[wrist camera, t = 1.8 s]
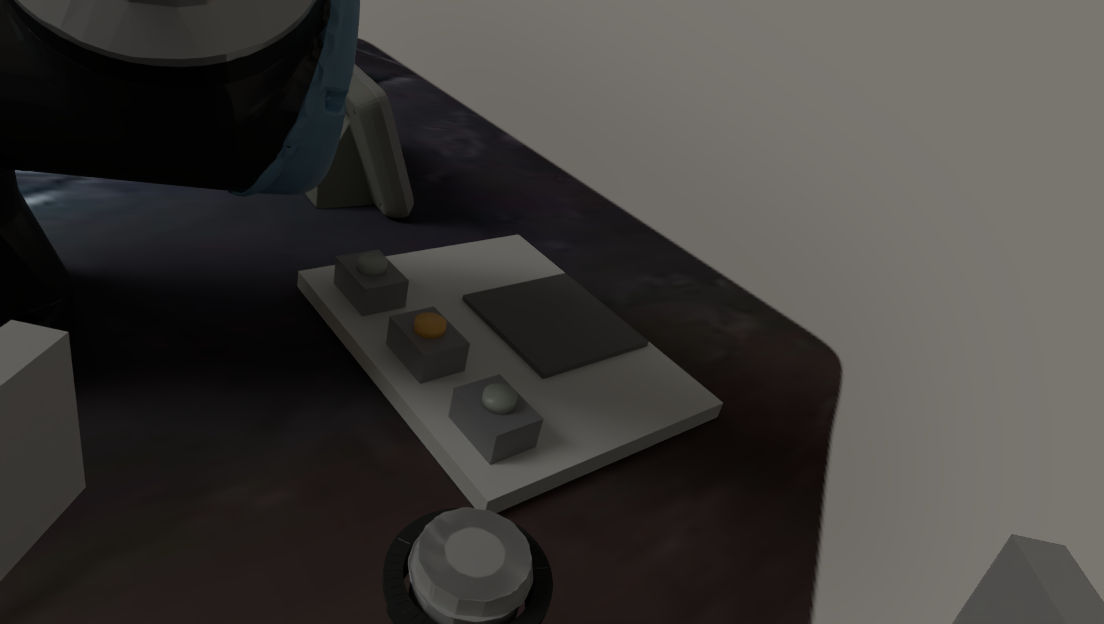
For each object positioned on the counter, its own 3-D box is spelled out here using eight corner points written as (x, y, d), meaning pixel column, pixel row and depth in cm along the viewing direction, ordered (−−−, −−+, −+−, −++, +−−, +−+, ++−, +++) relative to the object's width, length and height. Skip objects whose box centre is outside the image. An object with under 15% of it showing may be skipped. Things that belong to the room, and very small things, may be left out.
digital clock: (417, 228, 61) (435, 98, 56) (297, 228, 58) (304, 88, 52) (373, 144, 73) (384, 29, 68) (271, 139, 69) (274, 17, 64)
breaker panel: (297, 286, 51) (299, 236, 49) (515, 247, 62) (524, 205, 60) (483, 518, 38) (497, 462, 36) (717, 417, 49) (737, 370, 47)
